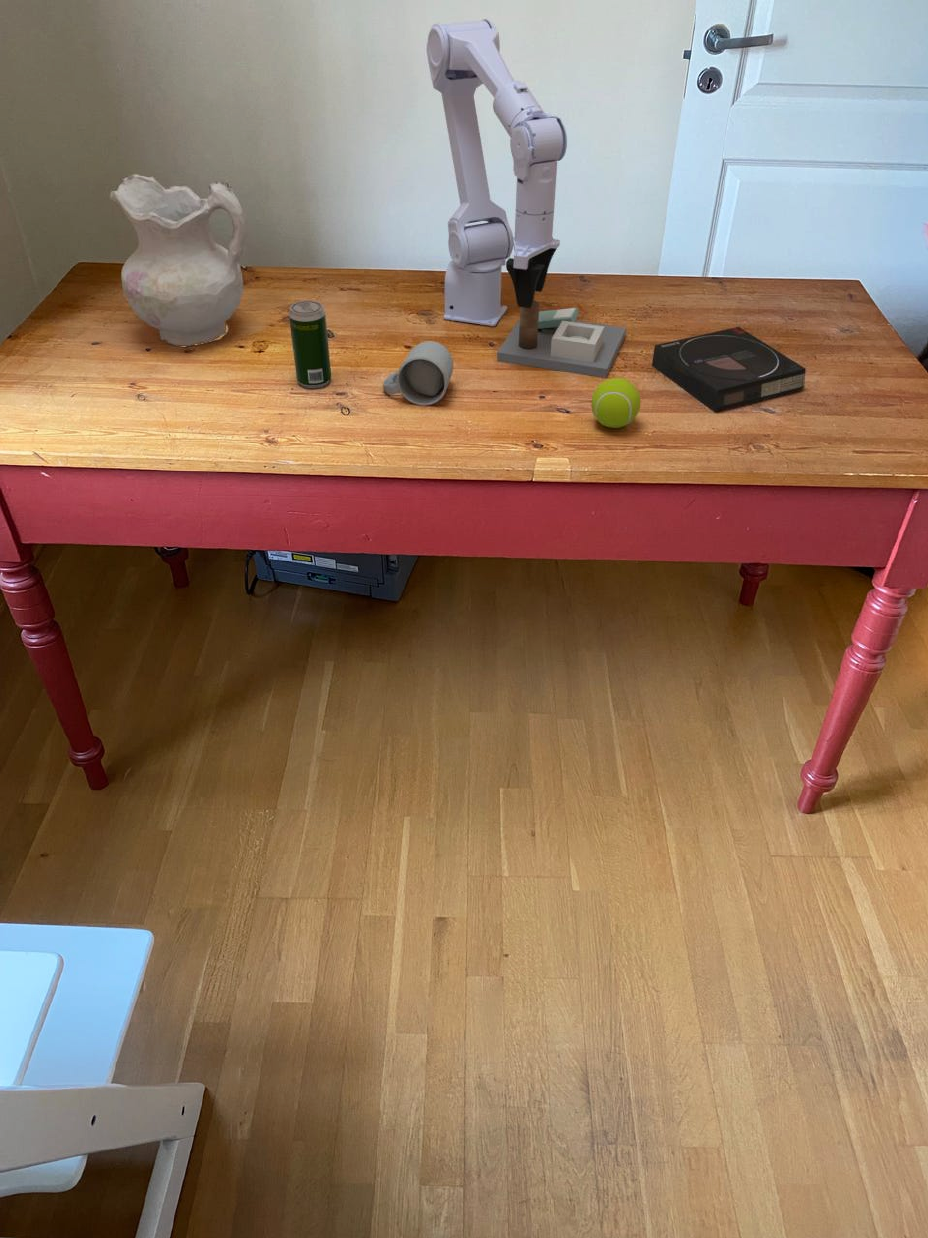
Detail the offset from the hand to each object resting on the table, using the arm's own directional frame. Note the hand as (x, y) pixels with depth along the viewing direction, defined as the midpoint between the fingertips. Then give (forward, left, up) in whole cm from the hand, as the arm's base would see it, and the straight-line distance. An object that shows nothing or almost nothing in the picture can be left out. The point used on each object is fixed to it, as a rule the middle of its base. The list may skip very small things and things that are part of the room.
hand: (530, 298), depth 148 cm
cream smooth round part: (+8, +1, -8) cm, 11 cm away
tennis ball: (+18, -18, -10) cm, 27 cm away
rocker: (+2, +7, -6) cm, 10 cm away
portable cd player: (+32, +2, -10) cm, 34 cm away
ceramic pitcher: (-55, -10, -10) cm, 57 cm away
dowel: (0, 0, -8) cm, 8 cm away
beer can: (-29, -20, -10) cm, 37 cm away
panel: (+5, +4, -9) cm, 11 cm away
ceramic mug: (-12, -18, -10) cm, 24 cm away
